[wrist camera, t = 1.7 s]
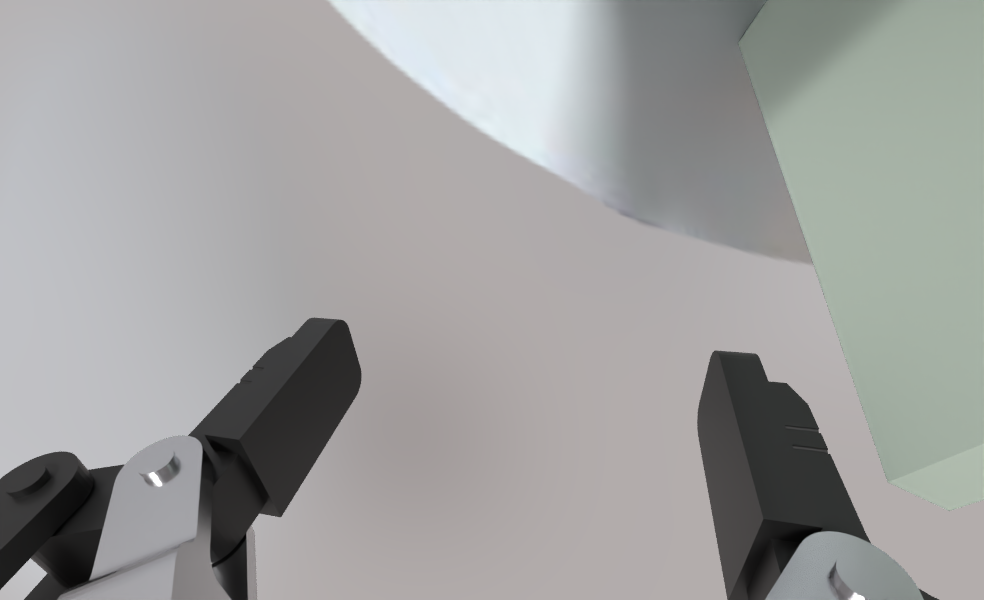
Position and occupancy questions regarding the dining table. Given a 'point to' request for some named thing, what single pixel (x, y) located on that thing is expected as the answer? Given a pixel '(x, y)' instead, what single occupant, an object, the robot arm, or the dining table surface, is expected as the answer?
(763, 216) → the dining table surface
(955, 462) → the wall board
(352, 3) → the dining table surface
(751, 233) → the dining table surface
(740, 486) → the robot arm
